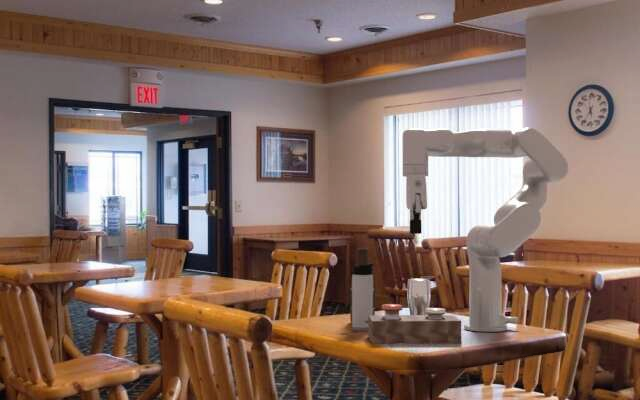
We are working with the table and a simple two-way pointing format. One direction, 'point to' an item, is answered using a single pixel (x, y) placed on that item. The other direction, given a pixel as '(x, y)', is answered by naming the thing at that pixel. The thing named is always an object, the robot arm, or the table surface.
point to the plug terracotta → (391, 311)
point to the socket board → (414, 329)
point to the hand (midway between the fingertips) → (415, 233)
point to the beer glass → (418, 296)
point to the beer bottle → (361, 260)
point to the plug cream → (435, 313)
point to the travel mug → (362, 296)
